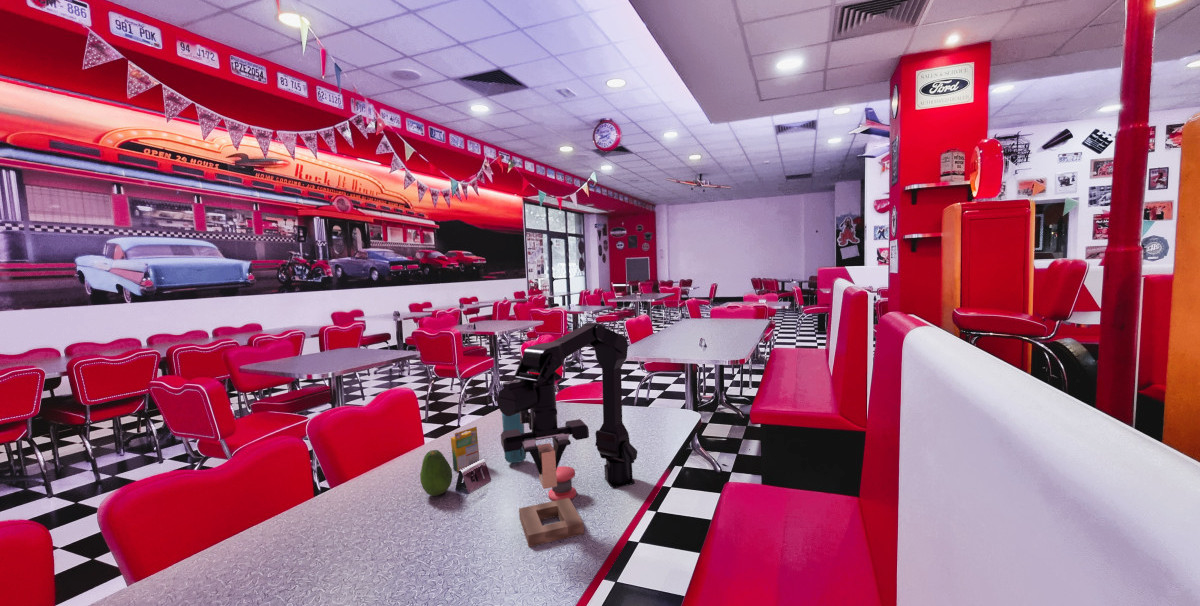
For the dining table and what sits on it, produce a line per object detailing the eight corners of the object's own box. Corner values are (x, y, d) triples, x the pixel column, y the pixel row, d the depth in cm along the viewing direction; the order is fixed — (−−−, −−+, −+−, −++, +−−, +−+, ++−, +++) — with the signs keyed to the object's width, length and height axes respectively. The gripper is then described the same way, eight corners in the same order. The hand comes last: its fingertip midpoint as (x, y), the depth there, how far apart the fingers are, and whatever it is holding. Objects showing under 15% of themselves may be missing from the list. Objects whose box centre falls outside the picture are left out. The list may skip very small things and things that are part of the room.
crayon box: (475, 461, 145) (472, 424, 144) (480, 464, 143) (477, 426, 142) (452, 469, 140) (449, 431, 139) (457, 472, 137) (454, 433, 136)
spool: (572, 486, 125) (570, 464, 124) (579, 498, 118) (578, 475, 118) (546, 491, 123) (544, 469, 122) (552, 504, 116) (550, 480, 116)
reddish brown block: (552, 477, 108) (549, 443, 108) (557, 486, 104) (555, 450, 103) (539, 479, 108) (536, 445, 107) (543, 489, 103) (541, 453, 102)
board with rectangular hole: (569, 507, 114) (568, 497, 114) (583, 533, 103) (583, 522, 102) (519, 518, 110) (518, 508, 110) (528, 547, 99) (528, 535, 99)
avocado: (415, 498, 123) (411, 453, 122) (437, 485, 130) (434, 442, 129) (438, 504, 119) (434, 457, 118) (460, 490, 126) (457, 446, 125)
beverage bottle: (522, 468, 138) (518, 401, 136) (501, 467, 139) (496, 400, 138) (530, 459, 144) (526, 394, 143) (509, 458, 146) (505, 394, 144)
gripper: (574, 389, 115) (577, 452, 116) (495, 400, 109) (500, 466, 110) (587, 401, 104) (591, 469, 105) (501, 413, 98) (506, 486, 100)
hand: (547, 472), depth 105 cm, fingers closed on reddish brown block, 3 cm apart
